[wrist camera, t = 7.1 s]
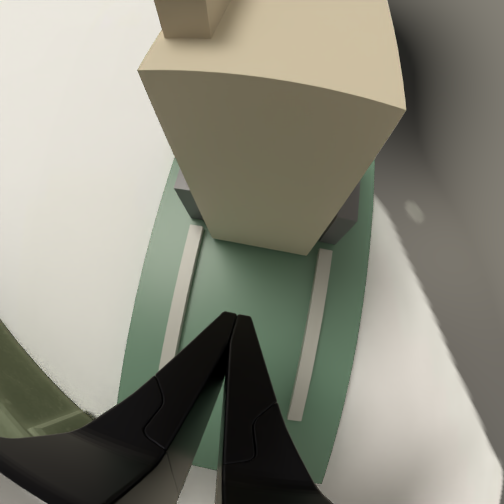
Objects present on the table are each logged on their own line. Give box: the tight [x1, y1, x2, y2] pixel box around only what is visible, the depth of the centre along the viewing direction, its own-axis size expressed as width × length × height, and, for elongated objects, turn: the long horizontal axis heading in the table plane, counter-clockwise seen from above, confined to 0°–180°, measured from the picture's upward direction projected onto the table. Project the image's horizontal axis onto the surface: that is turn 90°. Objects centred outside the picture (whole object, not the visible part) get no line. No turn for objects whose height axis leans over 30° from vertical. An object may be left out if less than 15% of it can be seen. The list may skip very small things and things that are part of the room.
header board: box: [117, 158, 375, 484], centre depth 14 cm, size 20×12×6 cm, turn 169°
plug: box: [137, 0, 406, 256], centre depth 11 cm, size 5×5×13 cm
